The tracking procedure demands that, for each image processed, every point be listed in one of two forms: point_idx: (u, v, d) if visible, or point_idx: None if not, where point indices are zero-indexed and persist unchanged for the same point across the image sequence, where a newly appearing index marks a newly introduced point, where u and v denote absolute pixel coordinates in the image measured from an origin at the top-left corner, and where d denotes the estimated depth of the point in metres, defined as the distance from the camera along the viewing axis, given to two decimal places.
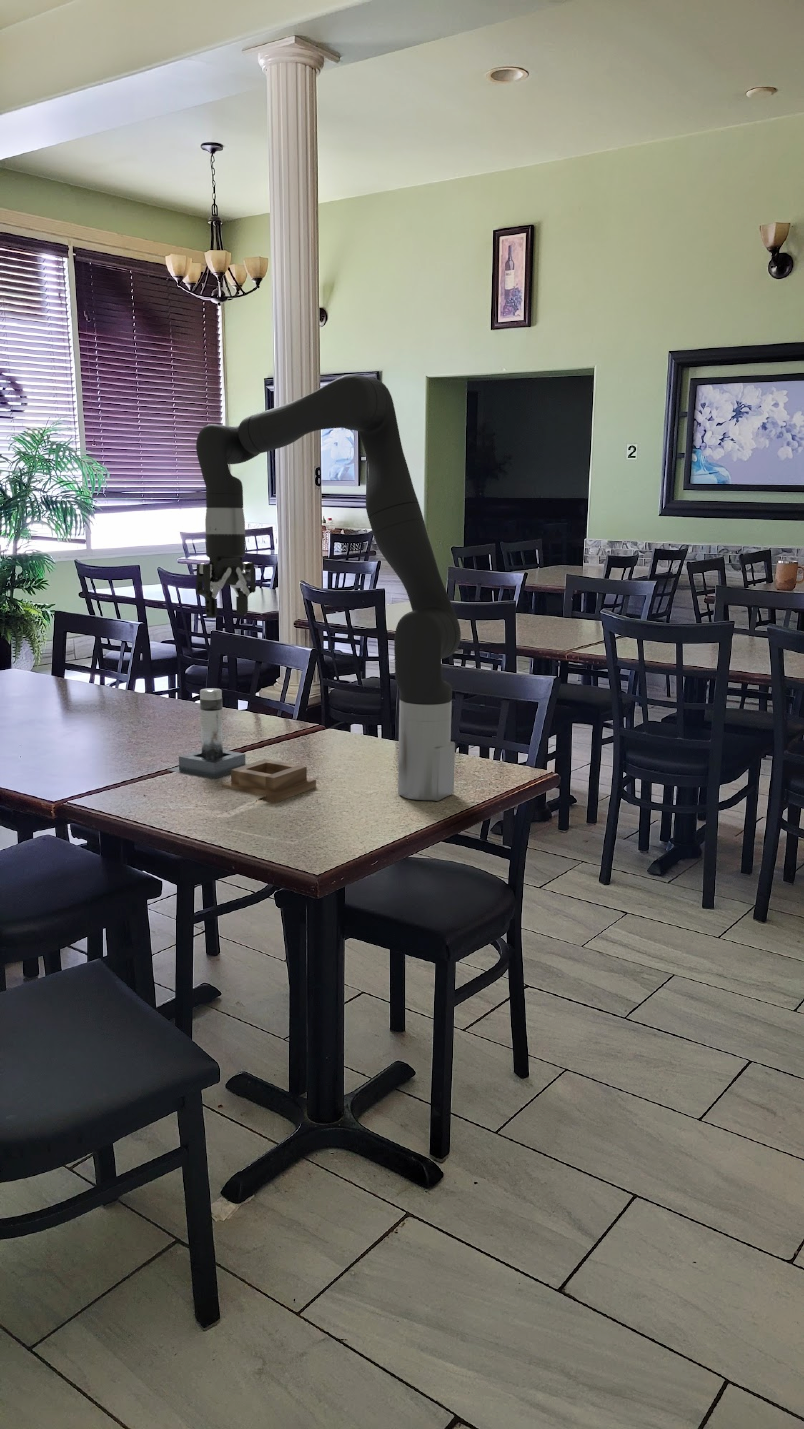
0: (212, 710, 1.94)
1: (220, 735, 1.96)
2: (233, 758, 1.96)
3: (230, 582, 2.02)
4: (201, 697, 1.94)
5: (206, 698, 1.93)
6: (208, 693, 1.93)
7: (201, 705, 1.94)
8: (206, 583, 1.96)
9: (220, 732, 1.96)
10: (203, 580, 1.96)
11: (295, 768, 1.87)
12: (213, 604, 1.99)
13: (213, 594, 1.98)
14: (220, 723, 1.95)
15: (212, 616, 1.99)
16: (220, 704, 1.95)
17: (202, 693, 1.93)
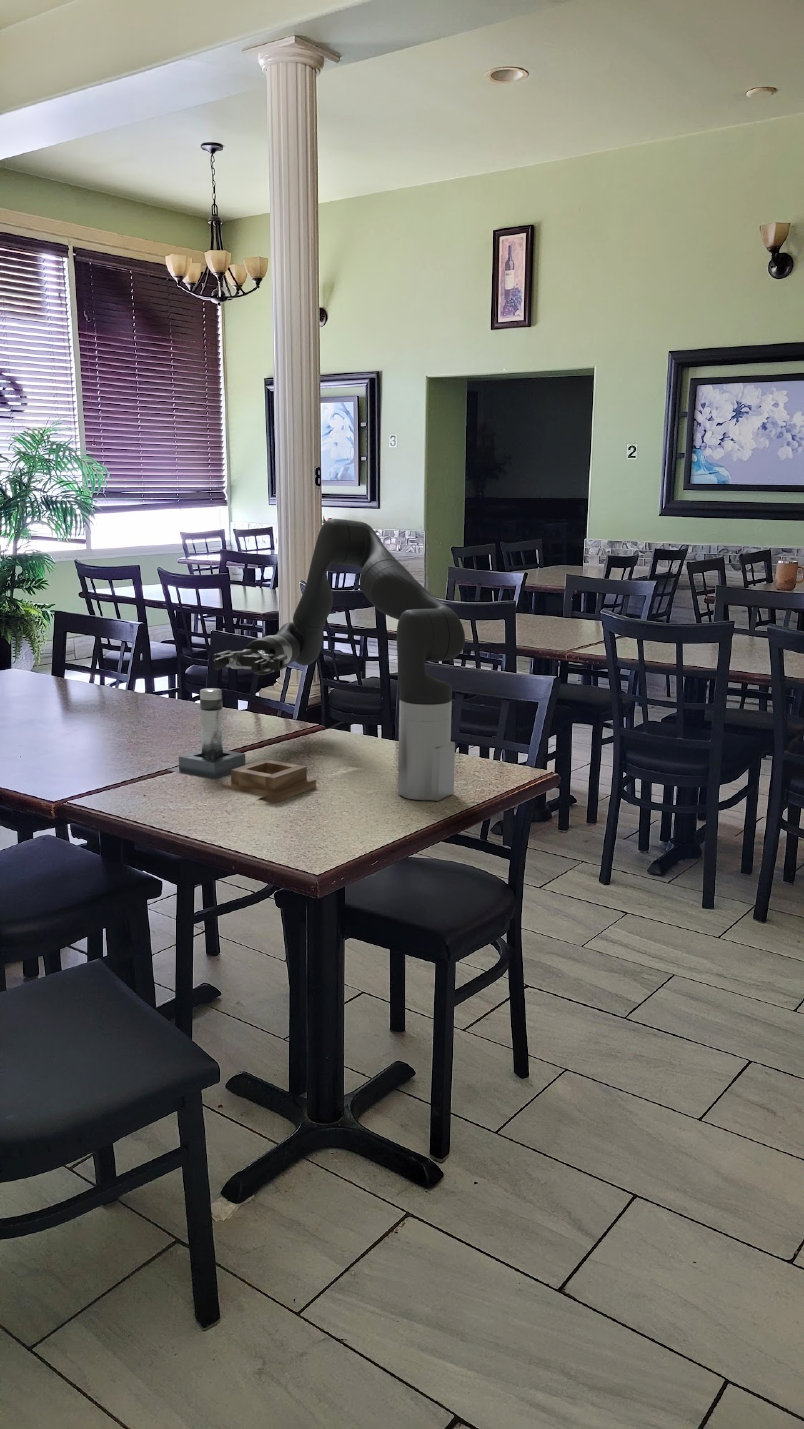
0: (212, 710, 1.94)
1: (220, 735, 1.96)
2: (233, 758, 1.96)
3: (249, 656, 2.11)
4: (201, 697, 1.94)
5: (206, 698, 1.93)
6: (208, 693, 1.93)
7: (201, 705, 1.94)
8: (219, 653, 2.13)
9: (220, 732, 1.96)
10: None
11: (295, 768, 1.87)
12: None
13: None
14: (220, 723, 1.95)
15: None
16: (220, 704, 1.95)
17: (202, 693, 1.93)
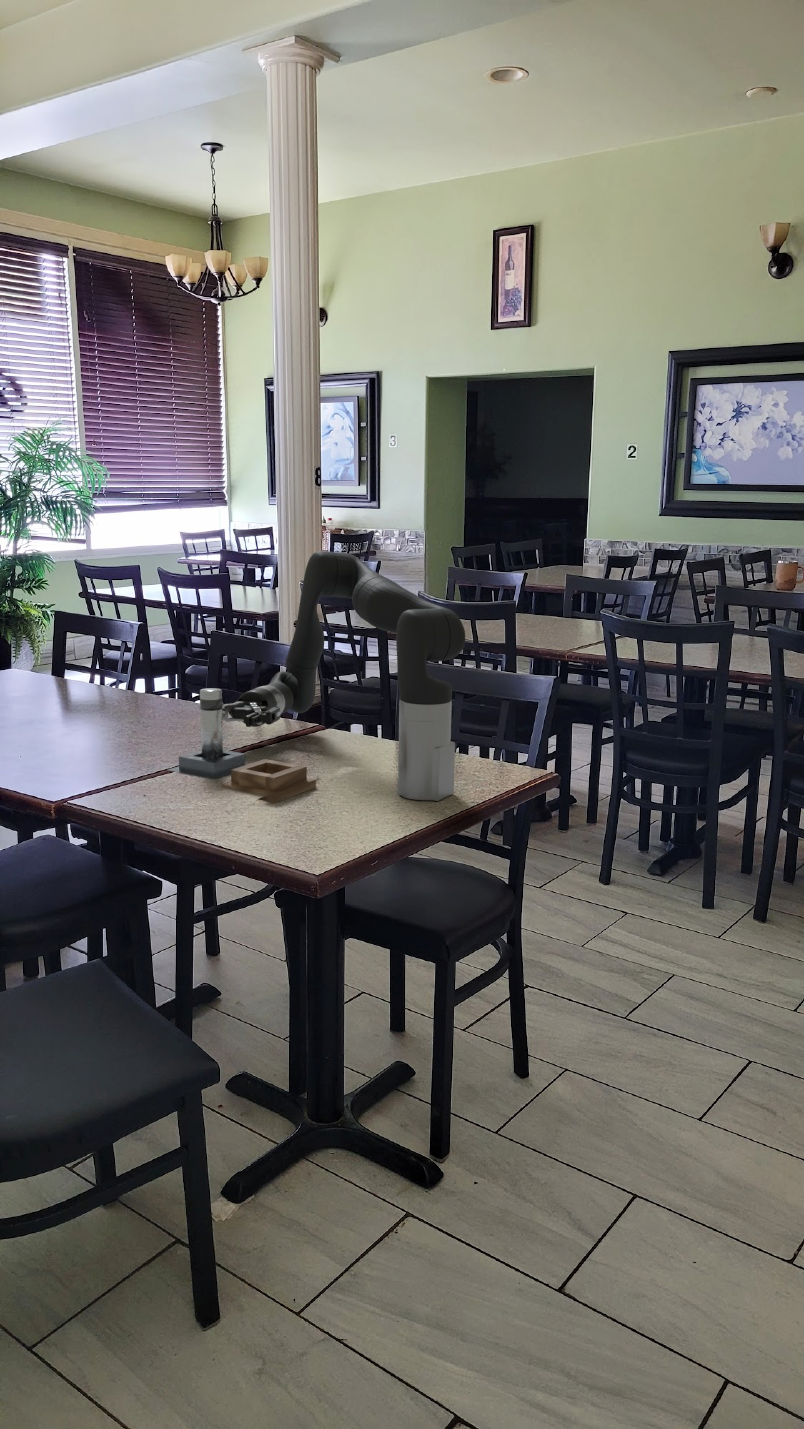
0: (212, 710, 1.94)
1: (220, 735, 1.96)
2: (233, 758, 1.96)
3: (241, 708, 2.09)
4: (201, 697, 1.94)
5: (206, 698, 1.93)
6: (208, 693, 1.93)
7: (201, 705, 1.94)
8: None
9: (220, 732, 1.96)
10: None
11: (295, 768, 1.87)
12: None
13: None
14: (220, 723, 1.95)
15: None
16: (220, 704, 1.95)
17: (202, 693, 1.94)
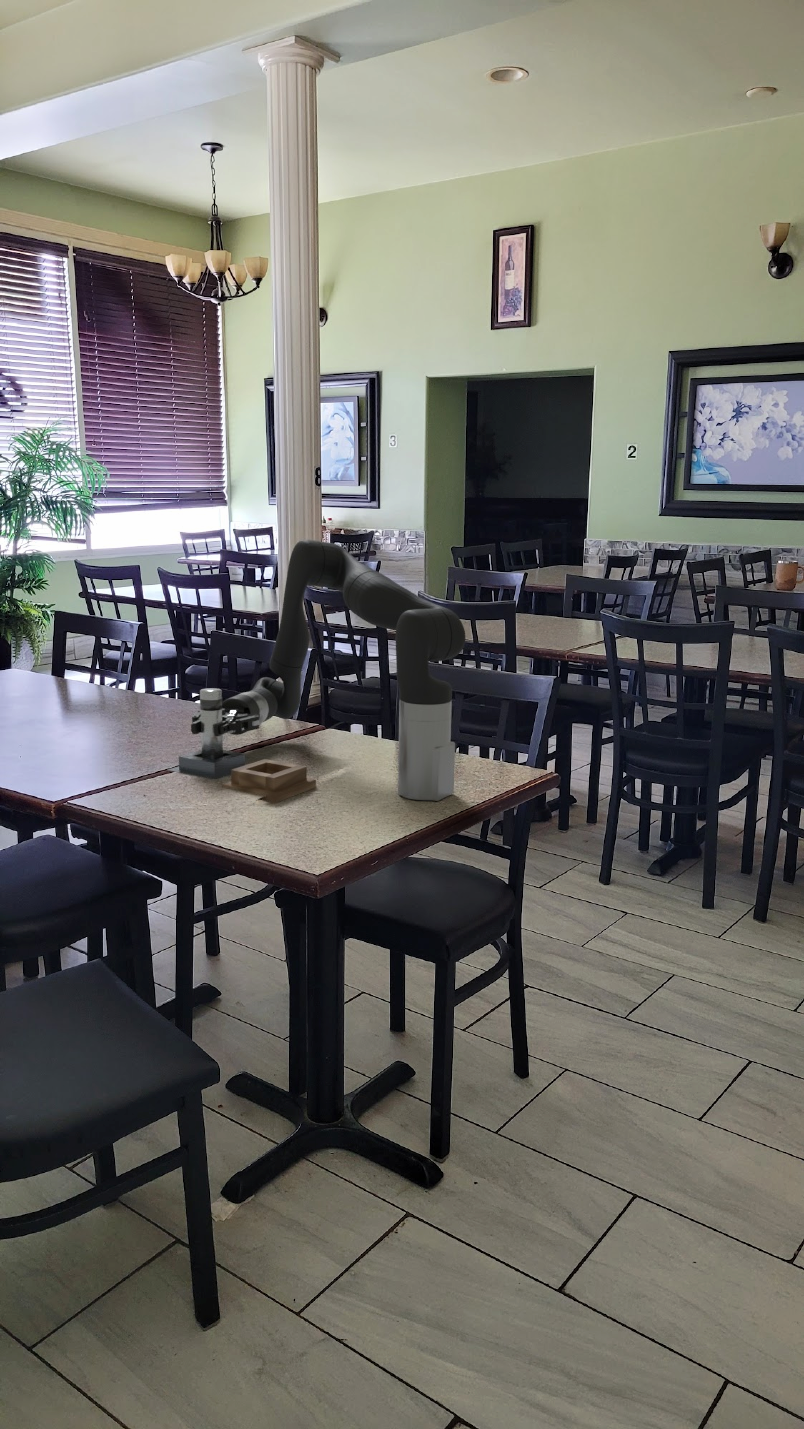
0: (212, 710, 1.94)
1: None
2: (233, 758, 1.96)
3: (222, 716, 2.01)
4: (201, 697, 1.94)
5: (206, 698, 1.93)
6: (208, 693, 1.93)
7: (201, 705, 1.94)
8: (194, 714, 2.01)
9: None
10: None
11: (295, 768, 1.87)
12: None
13: None
14: None
15: None
16: (220, 704, 1.95)
17: (202, 693, 1.93)
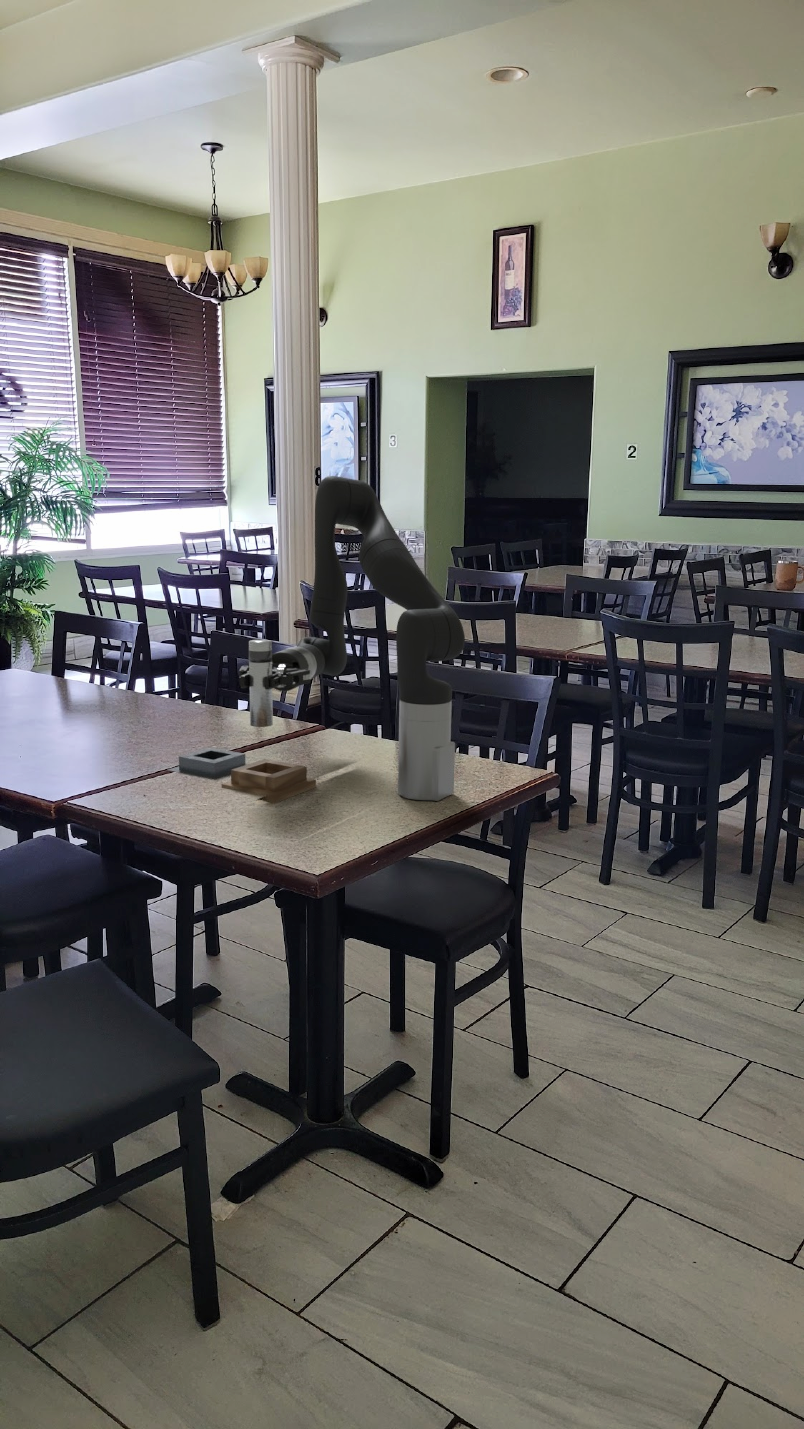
0: (262, 662, 1.82)
1: (270, 689, 1.84)
2: (233, 758, 1.96)
3: None
4: (250, 648, 1.82)
5: (256, 649, 1.82)
6: (258, 644, 1.81)
7: (250, 657, 1.82)
8: (241, 669, 1.89)
9: None
10: None
11: (295, 768, 1.87)
12: None
13: None
14: None
15: None
16: (270, 656, 1.83)
17: (251, 644, 1.82)
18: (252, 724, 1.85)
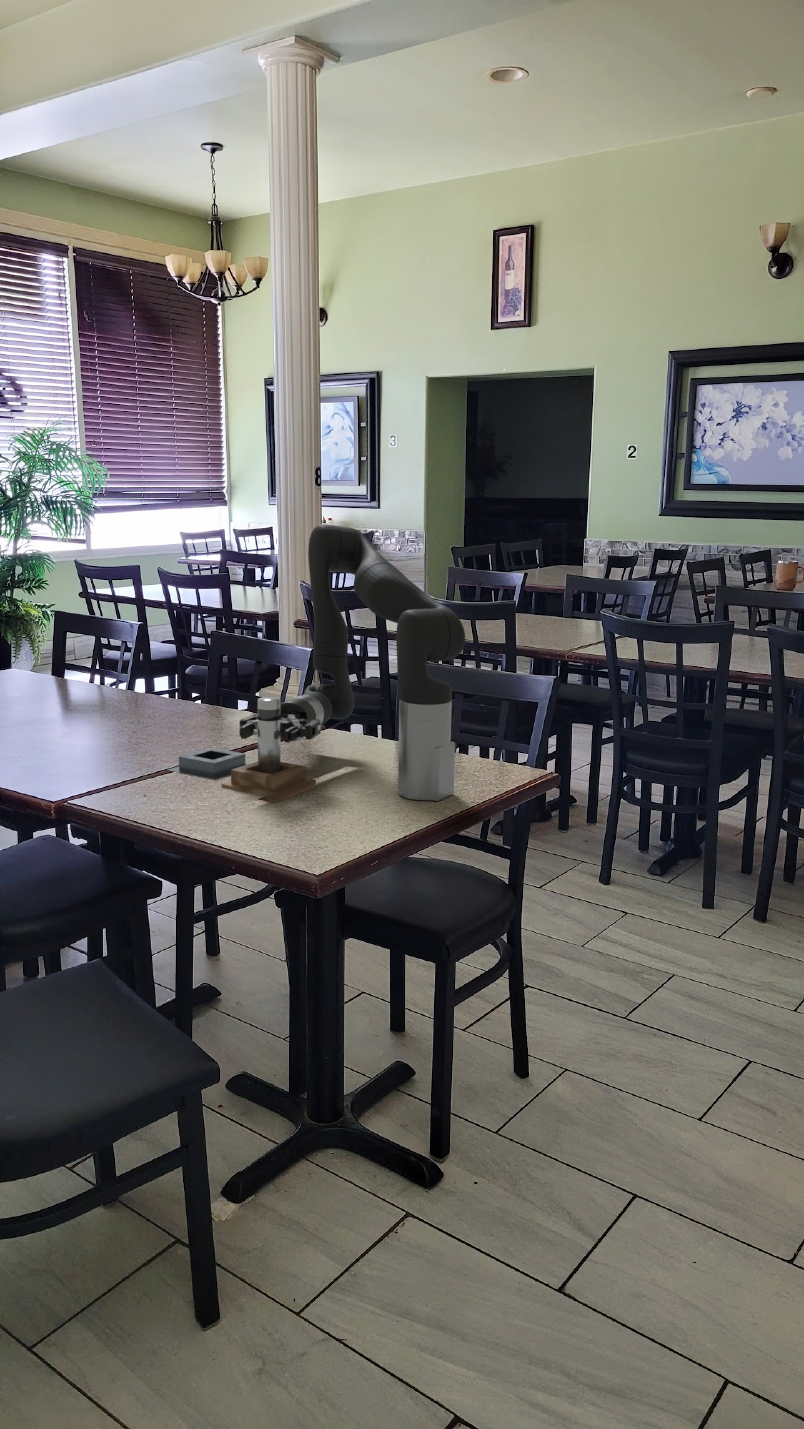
0: (270, 720, 1.83)
1: (278, 747, 1.85)
2: (233, 758, 1.96)
3: None
4: (259, 707, 1.83)
5: (264, 708, 1.83)
6: (267, 703, 1.82)
7: (259, 715, 1.84)
8: (245, 718, 1.91)
9: (278, 744, 1.85)
10: None
11: (295, 768, 1.87)
12: None
13: None
14: (278, 734, 1.85)
15: None
16: (279, 714, 1.84)
17: (260, 702, 1.83)
18: None
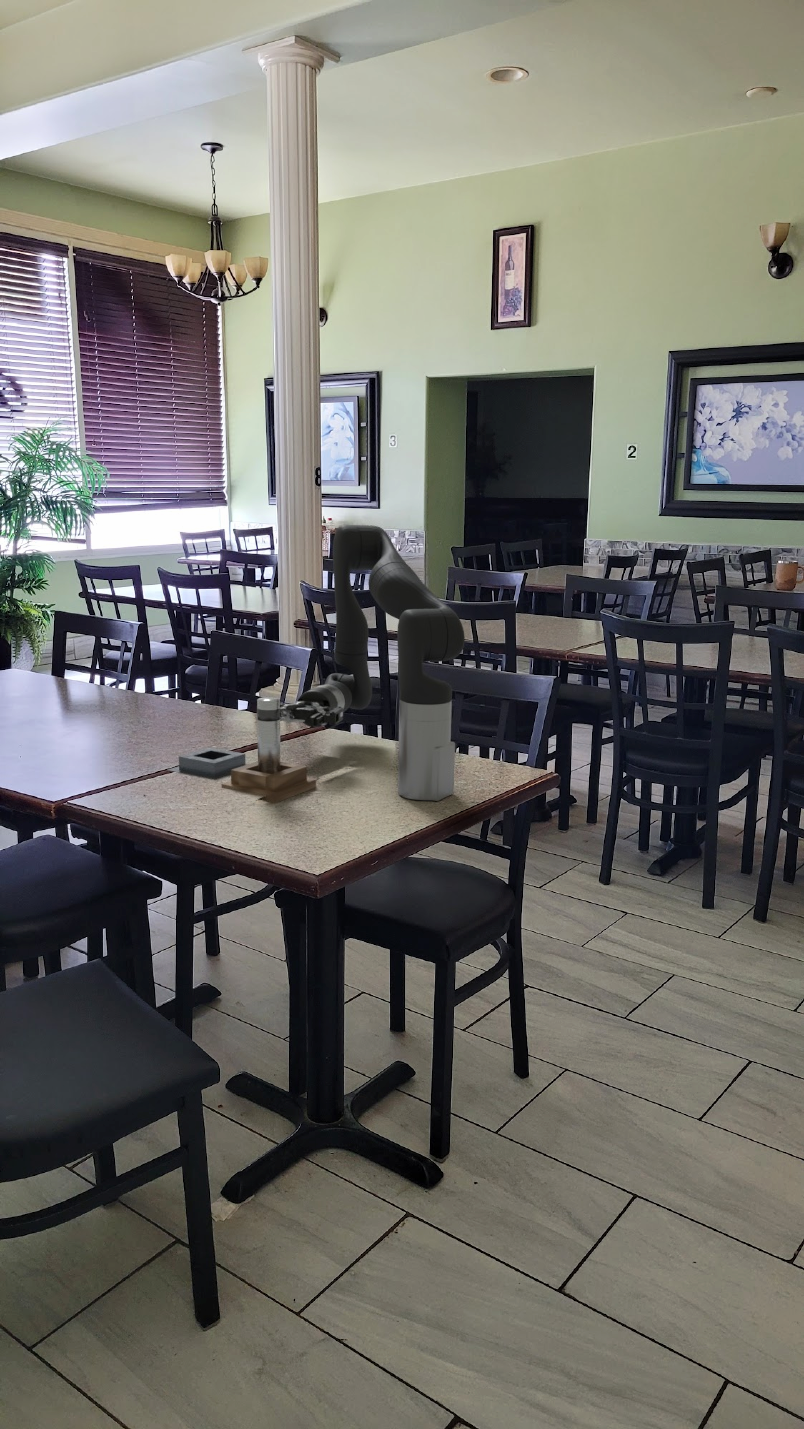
0: (270, 721, 1.83)
1: (278, 747, 1.85)
2: (233, 758, 1.96)
3: (303, 708, 2.01)
4: (258, 707, 1.83)
5: (264, 708, 1.83)
6: (266, 703, 1.82)
7: (258, 715, 1.84)
8: None
9: (278, 744, 1.85)
10: None
11: (295, 768, 1.87)
12: None
13: None
14: (278, 734, 1.85)
15: None
16: (278, 714, 1.84)
17: (260, 703, 1.83)
18: None
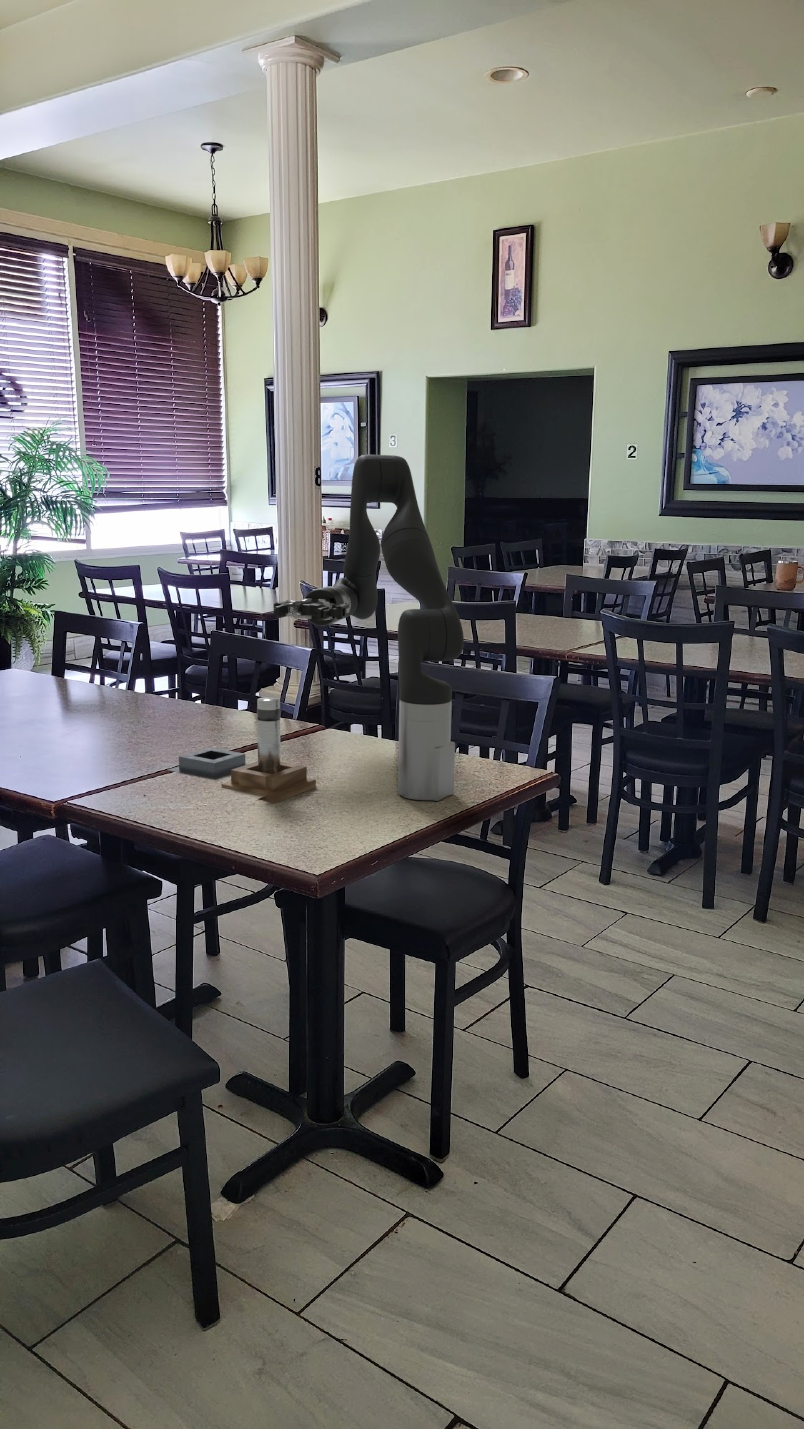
0: (270, 721, 1.83)
1: (278, 747, 1.85)
2: (233, 758, 1.96)
3: (310, 604, 2.04)
4: (258, 707, 1.83)
5: (264, 708, 1.83)
6: (266, 703, 1.82)
7: (258, 715, 1.84)
8: (278, 602, 2.06)
9: (278, 744, 1.85)
10: None
11: (295, 768, 1.87)
12: None
13: None
14: (278, 734, 1.85)
15: None
16: (278, 714, 1.84)
17: (260, 703, 1.83)
18: None
